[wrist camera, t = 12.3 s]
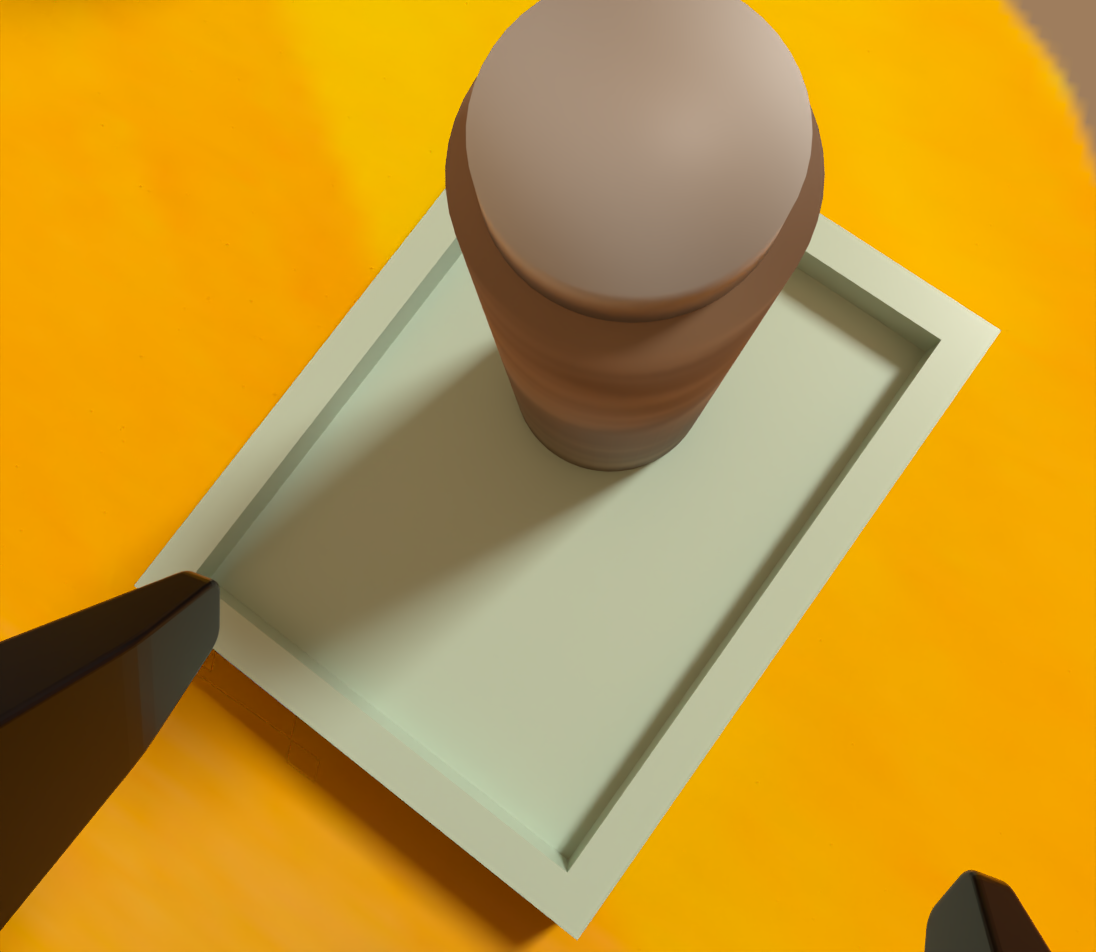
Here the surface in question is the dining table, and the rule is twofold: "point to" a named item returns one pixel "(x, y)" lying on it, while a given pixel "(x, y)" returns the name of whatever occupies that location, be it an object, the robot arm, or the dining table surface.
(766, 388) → the tray
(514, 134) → the pepper mill
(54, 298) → the dining table surface
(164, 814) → the dining table surface
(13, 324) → the dining table surface
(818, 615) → the dining table surface
